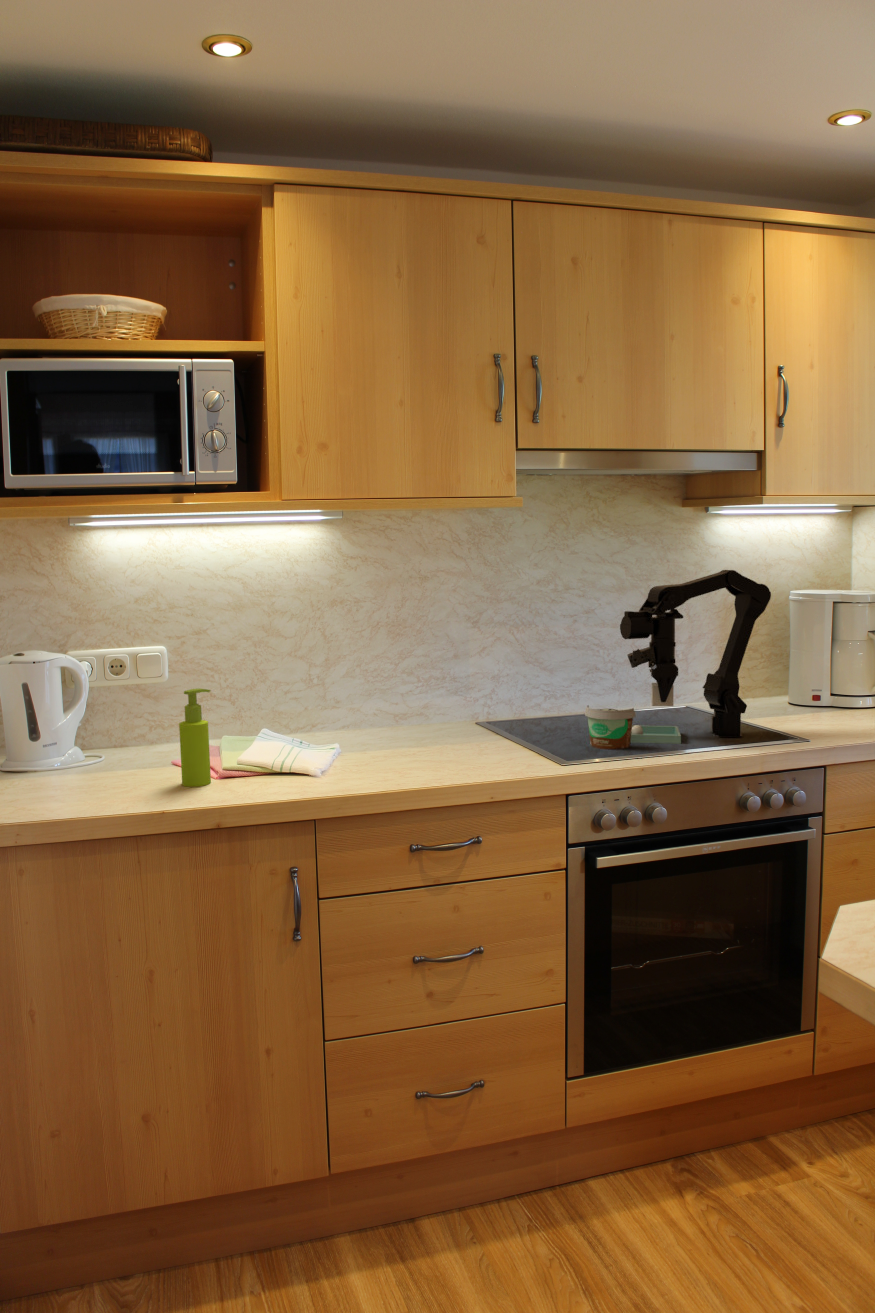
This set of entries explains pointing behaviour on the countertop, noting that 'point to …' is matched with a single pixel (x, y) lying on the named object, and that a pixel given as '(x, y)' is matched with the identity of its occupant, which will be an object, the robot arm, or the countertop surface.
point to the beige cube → (656, 696)
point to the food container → (610, 727)
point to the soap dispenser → (194, 744)
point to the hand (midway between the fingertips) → (662, 700)
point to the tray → (658, 735)
